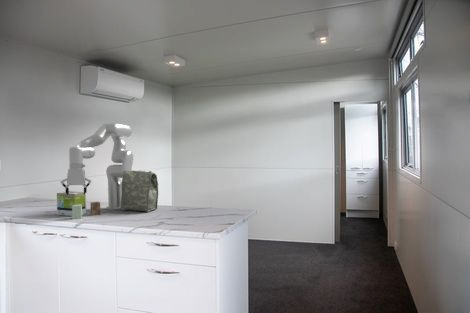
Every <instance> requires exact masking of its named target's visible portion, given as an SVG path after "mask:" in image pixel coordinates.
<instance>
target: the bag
mask: <svg viewBox="0 0 470 313" xmlns="http://www.w3.org/2000/svg"><path fill="white" fill-rule="evenodd" d="M121 182H122V195H121V207H120V208H123V209H124V210H131V211H139V212H147V213H149V212H151V211H154V210H156V209H157V210H158V200H159V183H158V175H157V174H156V172H152V171H150V170H149V171H146V170H145V171H144V170H132V169H131V171H125V172H124V174H123V178H121Z"/></svg>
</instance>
